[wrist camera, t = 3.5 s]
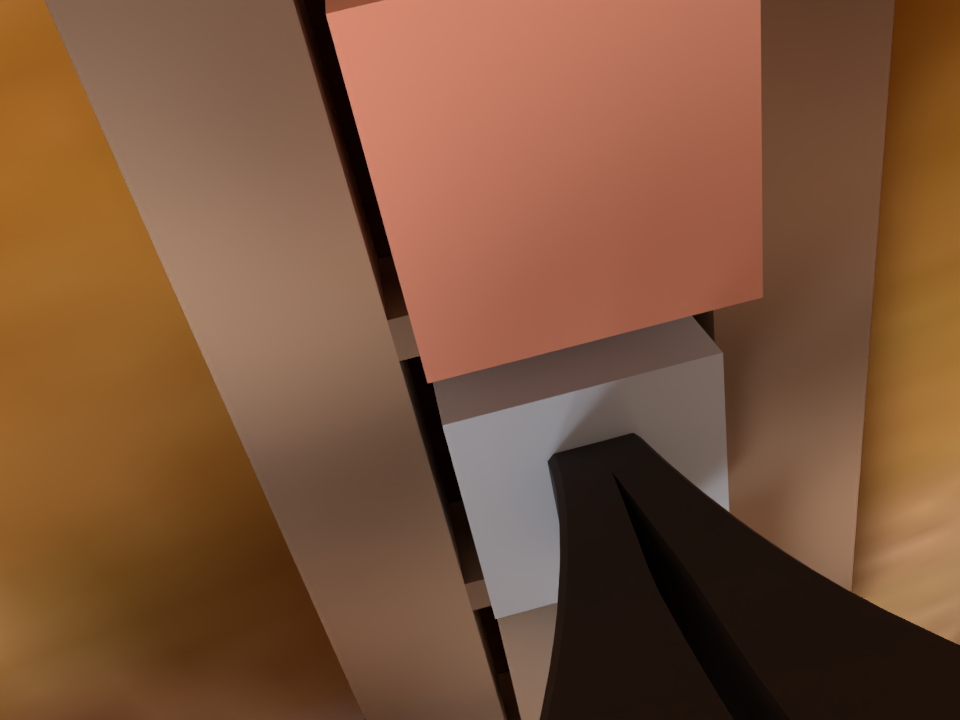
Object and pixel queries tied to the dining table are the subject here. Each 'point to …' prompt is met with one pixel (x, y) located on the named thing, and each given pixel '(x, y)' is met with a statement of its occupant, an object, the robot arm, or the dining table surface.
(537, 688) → the ivory key
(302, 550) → the walnut bezel
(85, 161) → the dining table surface
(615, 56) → the brick key
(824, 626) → the robot arm
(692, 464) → the slate key
